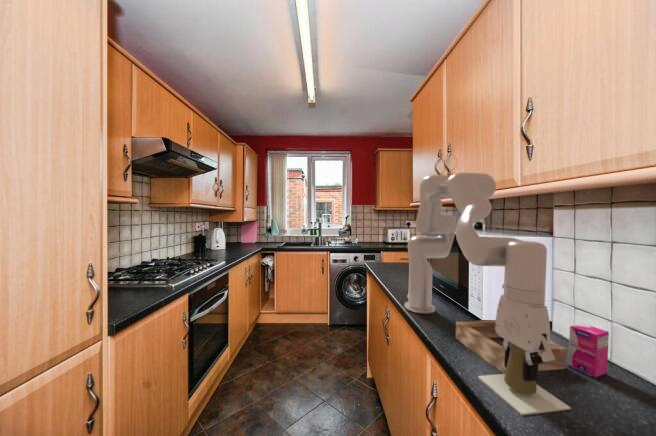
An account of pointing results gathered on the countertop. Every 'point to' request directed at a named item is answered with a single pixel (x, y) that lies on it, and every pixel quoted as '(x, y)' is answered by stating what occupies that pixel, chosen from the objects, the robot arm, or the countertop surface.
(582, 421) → the countertop surface
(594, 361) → the supplement box
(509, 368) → the cork
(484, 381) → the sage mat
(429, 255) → the robot arm
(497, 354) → the box
